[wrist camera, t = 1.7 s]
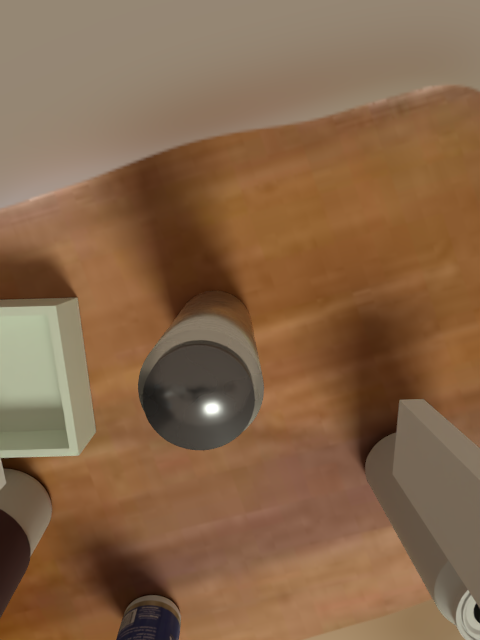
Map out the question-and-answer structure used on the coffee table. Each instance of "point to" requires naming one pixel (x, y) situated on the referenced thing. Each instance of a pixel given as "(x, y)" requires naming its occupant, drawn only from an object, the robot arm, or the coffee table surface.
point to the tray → (43, 379)
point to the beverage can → (421, 543)
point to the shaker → (203, 374)
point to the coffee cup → (19, 528)
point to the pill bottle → (150, 620)
